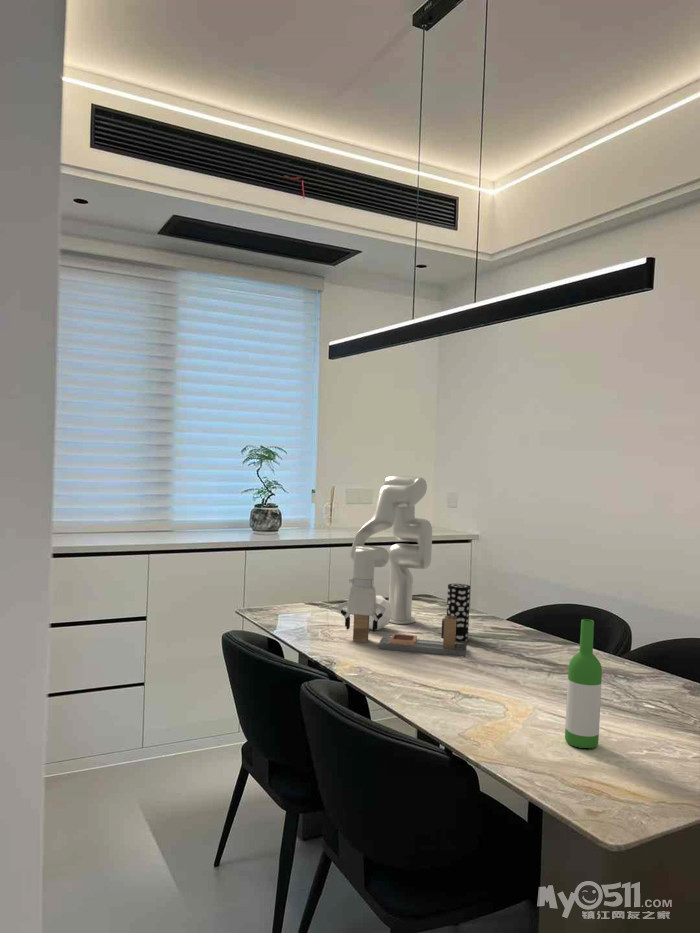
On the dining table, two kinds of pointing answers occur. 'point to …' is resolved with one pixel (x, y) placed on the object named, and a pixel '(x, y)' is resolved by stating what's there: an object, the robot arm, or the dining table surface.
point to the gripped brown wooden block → (361, 628)
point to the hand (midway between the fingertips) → (361, 629)
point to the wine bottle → (584, 693)
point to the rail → (428, 642)
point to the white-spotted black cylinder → (459, 608)
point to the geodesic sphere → (386, 616)
